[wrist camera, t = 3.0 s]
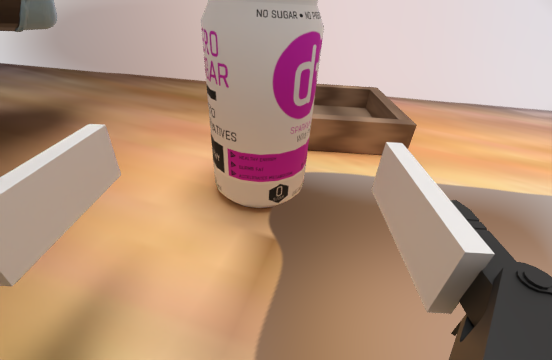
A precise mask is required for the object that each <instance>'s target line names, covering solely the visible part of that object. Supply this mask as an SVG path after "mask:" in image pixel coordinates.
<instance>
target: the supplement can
mask: <svg viewBox="0 0 552 360" xmlns="http://www.w3.org/2000/svg"><path fill="white" fill-rule="evenodd" d="M317 1H318V0H208V3H207V6H206V8H205V11H204V13H203V16H202V19H201V26H202V37H203V48H204V60H205V71H206V83H207V94H208V106H209V117H210V128H211V140H212V151H213V162H214V174H215V183H216V185H217V188H218V190H219V191H220V192H221V193H222V194H223V195H224V196H226V197H227V198H228V199H231V200H232V201H233V202H235V203H238V204H240V205H243V206H246V207H254V208H266V207H274V206H277V205H280V204H282V203H285V202H286V201H287V200H290V199H292V198H293V197H294V196H295V195H296V194H298V193H299V192H300V190H301V188H302V185H303V181H304V174H305V166H306V159H307V151H308V144H309V136H310V129H311V121H312V113H313V106H314V98H315V91H316V82H317V76H318V68H319V60H320V52H321V45H322V37H323V30H324V26H323V23H322V20H321V17H320V13H319V10H318V7H317Z"/></svg>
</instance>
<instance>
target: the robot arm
mask: <svg viewBox="0 0 552 360" xmlns="http://www.w3.org/2000/svg"><path fill="white" fill-rule="evenodd" d="M56 21H57V13H56V9H55V5H54V0H0V31H16V32H21V31H23V30H33V29H48V28H51V27H53V25H55V23H56ZM120 176H121V172H120V169H119V166H118V163H117V160H116V157H115V153H114V150H113V147H112V144H111V141H110V138H109V134H108V131H107V128H106V125H99V124H88V125H86V126H85V127H83V128H82V129H80V130H78V131H77V132H75V133H73V134H72V135H70V136H68V137H67V138H65V139H63V140H62V141H60V142H58V143H57V144H55V145H53V146H52V147H50V148H48V149H47V150H45V151H43V152H42V153H40V154H38V155H37V156H35V157H33V158H32V159H30V160H28V161H27V162H25V163H23V164H22V165H20V166H18V167H17V168H15V169H13V170H12V171H10V172H8V173H7V174H5V175H3V176H2V177H0V286H13V285H14V284H15V283H16V282H17V281H18V280H19V279H20V278H21V277H22V276H23V275H24V274H25V273H26V272H27V271H28V270H29V269H30V268H31V267H32V266H33V265H34V264H35V263H36V262H37V261H38V259H39V258H40V257H41V256H42V255H43V254H44V253H45V252H46V251H47V250H48V249H49V248H50V247H51V246H52V245H53V244H54V243H55V242H56V241H57V240H58V239H59V238H60V237H61V236H62V235H63V234H64V233H65V232H66V231H67V230H68V229H69V228H70V227H71V226H72V225H73V224H74V223H75V222H76V221H77V220H78V219H79V218H80V216H81V215H82V214H83V213H84V212H85V211H86V210H87V209H88V208H89V207H90V206H91V205H92V204H93V203H94V202H95V201H96V200H97V199H98V198H99V197H100V196H101V195H102V194H103V193H104V192H105V191H106V190H107V189H108V188H109V187H110V186H111V185H112V184H113V183H114V182H115V181H116V180H117V179H118V178H119V177H120ZM372 193H373V195H374V197H375V199H376V201H377V203H378V206H379V208H380V210H381V212H382V214H383V217H384V219H385V221H386V223H387V226H388V228H389V230H390V232H391V234H392V236H393V239H394V241H395V243H396V245H397V248H398V250H399V252H400V254H401V256H402V259H403V260H404V263H405V265H406V267H407V270H408V271H409V274H410V276H411V278H412V281H413V283H414V285H415V287H416V289H417V292H418V294H419V296H420V298H421V300H422V303H423V305H424V307H425V309H426V311H427V312H433V313H449V314H451V313H452V312H453V310H454V309H455V308H456V306H457V305H458V304H459V302H460V304H461V305H462V307H463V308H464V310H465V312H466V315H465V316H464V318H463V319H462V321H461V322H460V323H459V324H458V325H457V327H456V328H455V329H454V330H453V332H452V333H451V334H453V335H454V336H455V335H456V334H457V336H456V339H455V342H454V345H453V348H452V352H451V354H450V358H449V360H552V277H551V276H549V275H548V274H547V273H545V272H543V271H542V270H540V269H538V268H536V267H534V266H531V265H528V264H525V263H521V262H516V261H515V260H514V258H513V257H512V256H511V255H510V254H509V253H508V252H507V251H506V249H505V248H504V247H503V246H502V245H501V244H500V243H499V242H498V240H497V239H496V238H495V237H494V236H493V235H492V234H491V233H490V232H489V231H487V229H486V227H485V226H484V225H483V224H482V223H481V222H479V219H478V218H477V217H476V216H475V215H474V214H473V213H472V211H471V210H470V209H468V208H467V207H465V206H464V205H462V204H461V203H460V202H458V201H457V200H449V199H448V197H447V196H446V195H445V194H444V193H443V191H442V190H441V189H440V188H439V186H438V185H437V184H436V183H435V182H434V180H433V179H432V178H431V177H430V176H429V174H428V173H427V172H426V171H425V170H424V168H423V167H422V166H421V165H420V164H419V162H418V161H417V160H416V159H415V158H414V156H413V155H412V154H411V153H410V152H409V150H408V149H407V148H406V147H405V146H404V144H403V143H393V142H386V144H385V147H384V150H383V153H382V157H381V160H380V163H379V167H378V170H377V173H376V177H375V180H374V184H373V186H372Z"/></svg>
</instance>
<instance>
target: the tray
mask: <svg viewBox="0 0 552 360" xmlns="http://www.w3.org/2000/svg"><path fill="white" fill-rule="evenodd" d="M415 128H416V124H415V123H414V122H413V121H412V120H411V119H410V118H409V117H408V116H407V115H405V114H404V113H403V112H402V111H401V110H400V109H399V108H398V107H397V106H396V105H395V104H394V103H393V102H392V101H391V100H390V99H388V98H387V97H386V96H385V95H384V94H383V93H382V92H381V91H380V90H379V89H378V88H374V87H359V86H343V85H327V84H316V91H315V98H314V106H313V113H312V121H311V129H310V136H309V144H308V150H315V151H331V152H347V153H363V154H378V155H382V153H383V150H384V147H385V144H386V142H393V143H403V144H404V146H405V147H406V148H407V149H408V147H409V145H410V142H411V139H412V136H413V134H414V131H415Z"/></svg>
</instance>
